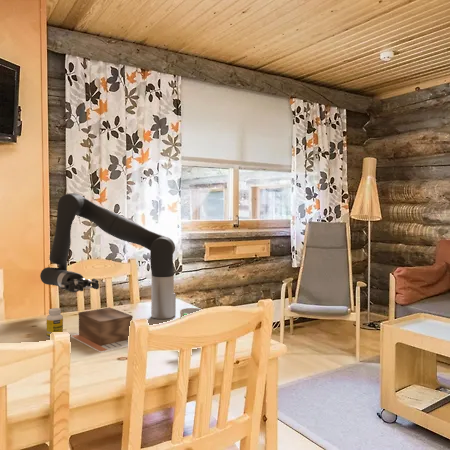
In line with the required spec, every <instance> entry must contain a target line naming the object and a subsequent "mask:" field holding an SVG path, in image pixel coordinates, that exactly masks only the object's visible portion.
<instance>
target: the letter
mask: <svg viewBox="0 0 450 450" xmlns="http://www.w3.org/2000/svg"><path fill="white" fill-rule="evenodd" d="M70 335H71V337H70V338H72V339H74V340H76V341H78V342H80V343H81V344H83V345H85V346H87V347H89V348H91V349H93V350H95V351H97V352H99V353H105V352H109V351H112V350H119V349H122V348H126V347H129V346H128V340H124V341H120V342H116V343H111V344H107V345H102V346H99V345H97V344H95V343H94V342H92V341H90V340H88V339H86V338H84V337H82V336H80V335H79V332H78V333H74V334H70Z"/></svg>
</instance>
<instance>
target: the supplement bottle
mask: <svg viewBox="0 0 450 450" xmlns="http://www.w3.org/2000/svg"><path fill="white" fill-rule="evenodd" d="M61 313H62V308H61V307H60V308H59V307H54V308H50V309H48V315H47V316H46V338H47V339H50V334H51V333H52V332H63V333H64V329H63V328H64V315H62V314H61Z"/></svg>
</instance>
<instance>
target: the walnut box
mask: <svg viewBox="0 0 450 450" xmlns="http://www.w3.org/2000/svg"><path fill="white" fill-rule="evenodd" d="M131 320H132V321H133V315H131V314H129V313H126V312H123V311H120V310H118V309H115V308H113V307H111V306H110V307H105V308H97V309H94V310H93V309H91V310H85V311H79V312H78V333H79V335H80V336H82V337H84V338H86V339H88V340H90V341H92V342H94V343H95V344H97V345H99V346H102V345H107V344H111V343H116V342H120V341H124V340H128V336H129V326H130V321H131Z"/></svg>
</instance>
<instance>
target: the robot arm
mask: <svg viewBox="0 0 450 450" xmlns="http://www.w3.org/2000/svg"><path fill="white" fill-rule="evenodd" d="M77 216H78V217H81V218H83V219H86V220H89V221H90V222H92V223H93V224H94V225H95V226H97V227H98V228H99V229H100V230H101V231H103V232H104V233H106V234H108V235H109V236H112V237H114V238H117V239H119V240H121V241H123V242H126V243H127V242H128V243H132V244H135V245H138V246H140V247H143V248H145V249H147V250H148V251H149V254H150V257H149V258H150V260H149V261H150V271H151V298H150V299H151V304H150V305H151V312H150V313H151V315H150V316H151V318H152V319H157V320H162V319H163V320H165V319H167V320H168V319H171V318H174V317H176V299H177V298H176V296H177V295H176V293H175V292H174V291H175V286H174V285H175V268H174V253H175V251H176V244H175V242H174V241H173V239H171V238H170V237H167V236H165V235H162V234H159V233H156V232H155V231H154V232H153V231H152V230H149V229H147V228H145V227H143V226H141V225H140V224H138V223H136V222H135V221H133V220H131V219H130V218H127V217H125V216H123V215H121V214H119V213H116V212H114V211H112V210H110V209H108V208H105V207H101V206H100V205H97V204H96V203H94V202H92V201H91V200H89V199H88V198H86V197H84V196H82V195H81V194H79V193H77V192H74V193H66V194H63V195H61V196H60V198H59V199H58V201H57V211H56V223H55V224H56V225H55V231H54V237H53V242H52V246H51V250H50V254H49V260H50V262H51V263H53V264H56V265H58V267H51V266H50V267H45V268H43V269H42V270H41V272H40V275H39V277H40V281H41V282H42V283H43V284H44V285H48V286H57V287H59V288H60V289H61V290H65V291H68V292H70V293H77V292H83V291H84V289H85V290H86V289H87V290H90V289H94V290H99V288H100V284H99V283H100V282H99V281H100V280H98V279H96V278H92V279H88V278H85V277H84V276H83V275H82V274H81V273H80V272H79V273H78V272H74V271H71V270H68V257H69V253H70V249H71V243H72V242H71V241H72V240H71V239H72V238H71V237H72V236H71V233H72V232H71V230H72V225H73V222H74V219H75V217H77Z"/></svg>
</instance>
